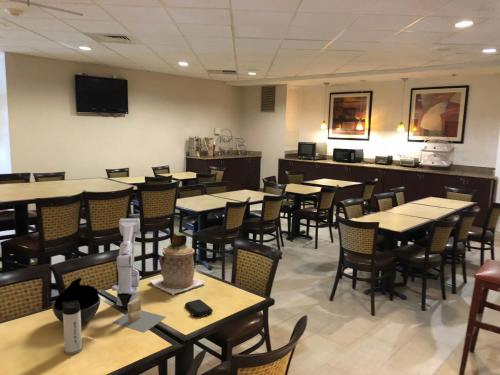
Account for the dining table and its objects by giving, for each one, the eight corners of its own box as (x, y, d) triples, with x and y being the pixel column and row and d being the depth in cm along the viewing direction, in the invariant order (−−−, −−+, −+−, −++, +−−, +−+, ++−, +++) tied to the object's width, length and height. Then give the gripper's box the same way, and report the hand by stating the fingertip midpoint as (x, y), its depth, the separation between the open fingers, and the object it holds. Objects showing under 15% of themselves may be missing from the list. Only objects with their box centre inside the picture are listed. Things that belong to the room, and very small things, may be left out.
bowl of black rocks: (82, 336, 162) (80, 294, 159) (42, 329, 166) (40, 289, 164) (109, 315, 181) (108, 277, 178) (73, 309, 186) (72, 273, 183)
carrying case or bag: (181, 308, 191) (194, 320, 179) (181, 302, 191) (194, 314, 179) (200, 303, 197) (214, 314, 185) (200, 297, 197) (214, 308, 185)
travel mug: (67, 346, 154) (65, 299, 151) (84, 345, 155) (82, 299, 152) (61, 355, 148) (58, 306, 145) (78, 354, 149) (76, 306, 146)
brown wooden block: (127, 321, 174) (127, 303, 173) (136, 316, 180) (136, 298, 178) (132, 323, 173) (131, 304, 172) (141, 317, 178) (140, 299, 177)
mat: (111, 323, 173) (111, 322, 173) (135, 309, 188) (135, 308, 187) (144, 333, 165) (144, 332, 165) (166, 318, 180) (166, 317, 180)
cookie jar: (207, 284, 221) (208, 231, 216) (172, 297, 203) (172, 239, 199) (182, 273, 238) (182, 223, 233) (147, 283, 220) (146, 230, 215)
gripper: (106, 279, 175) (107, 307, 177) (131, 285, 169) (131, 314, 171) (118, 274, 182) (118, 301, 183) (141, 280, 176) (142, 308, 177)
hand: (125, 307), depth 178 cm, fingers closed
